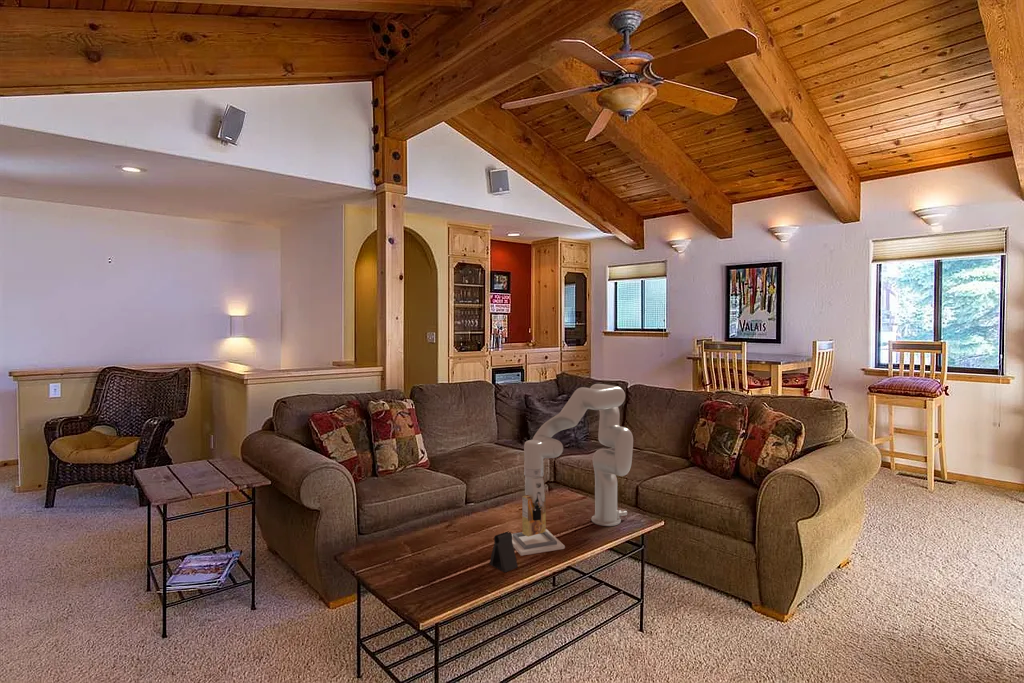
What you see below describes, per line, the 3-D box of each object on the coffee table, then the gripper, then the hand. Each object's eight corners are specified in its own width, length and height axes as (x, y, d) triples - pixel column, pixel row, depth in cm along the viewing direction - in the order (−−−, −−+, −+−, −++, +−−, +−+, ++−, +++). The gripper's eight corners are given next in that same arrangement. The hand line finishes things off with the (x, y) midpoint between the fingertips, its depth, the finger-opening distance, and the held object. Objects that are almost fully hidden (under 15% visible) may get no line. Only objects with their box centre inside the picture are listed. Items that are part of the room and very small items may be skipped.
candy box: (539, 529, 236) (539, 491, 235) (546, 532, 233) (546, 494, 232) (522, 534, 231) (521, 495, 230) (528, 537, 228) (528, 498, 227)
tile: (546, 532, 244) (546, 526, 244) (564, 548, 227) (564, 542, 227) (505, 538, 238) (505, 532, 238) (521, 555, 221) (520, 549, 221)
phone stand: (489, 564, 214) (488, 532, 213) (502, 559, 217) (501, 528, 217) (505, 572, 207) (504, 539, 206) (517, 567, 211) (517, 535, 210)
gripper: (551, 476, 224) (551, 523, 225) (534, 465, 240) (534, 509, 241) (533, 478, 221) (533, 526, 222) (517, 467, 237) (517, 511, 238)
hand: (534, 516), depth 232 cm, fingers closed on candy box, 5 cm apart
